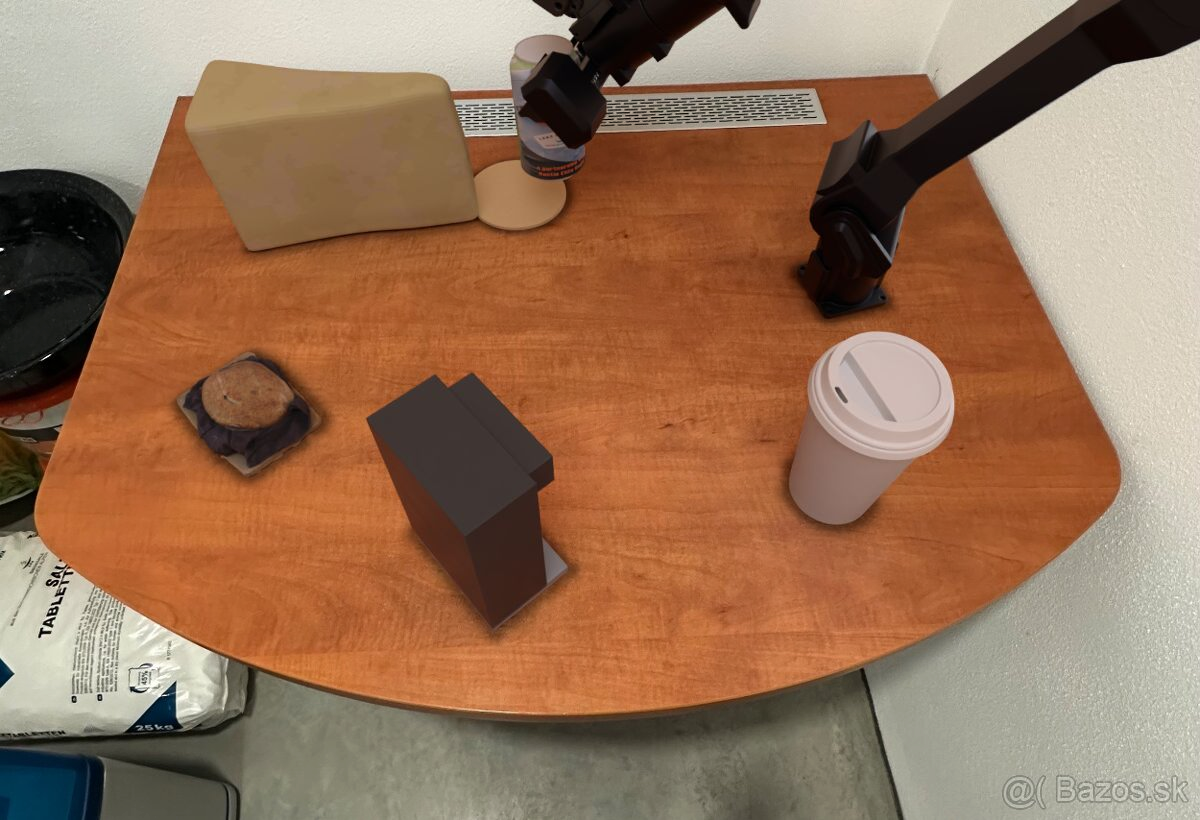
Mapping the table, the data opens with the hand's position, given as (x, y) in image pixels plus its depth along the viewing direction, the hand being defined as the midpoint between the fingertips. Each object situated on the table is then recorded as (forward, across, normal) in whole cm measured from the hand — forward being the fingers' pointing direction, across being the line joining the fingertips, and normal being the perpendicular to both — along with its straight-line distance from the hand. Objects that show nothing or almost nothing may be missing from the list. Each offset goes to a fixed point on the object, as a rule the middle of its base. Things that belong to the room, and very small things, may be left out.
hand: (535, 97), depth 71 cm
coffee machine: (+1, +36, +17) cm, 40 cm away
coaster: (+11, 0, +7) cm, 13 cm away
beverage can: (+4, 0, +6) cm, 7 cm away
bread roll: (+18, +32, 0) cm, 37 cm away
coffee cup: (-15, +22, +33) cm, 42 cm away
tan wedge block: (+19, +9, -2) cm, 21 cm away
